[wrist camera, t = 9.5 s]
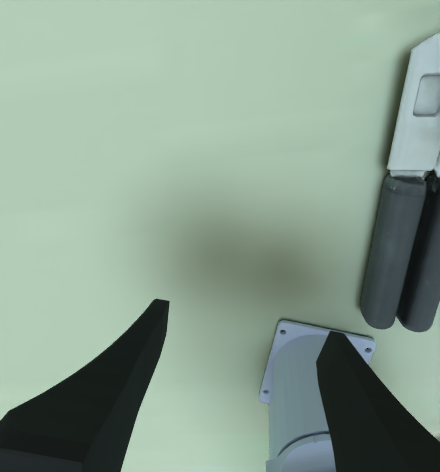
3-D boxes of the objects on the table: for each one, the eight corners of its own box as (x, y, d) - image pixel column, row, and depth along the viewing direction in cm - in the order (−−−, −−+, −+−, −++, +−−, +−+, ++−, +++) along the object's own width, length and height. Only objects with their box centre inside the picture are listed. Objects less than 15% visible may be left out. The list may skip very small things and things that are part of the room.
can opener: (401, 32, 18) (468, -8, 12) (499, 27, 17) (622, -17, 11) (351, 308, 25) (377, 369, 19) (418, 313, 24) (467, 378, 18)
